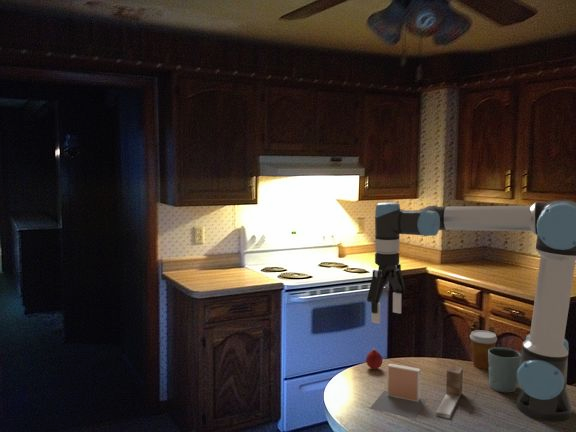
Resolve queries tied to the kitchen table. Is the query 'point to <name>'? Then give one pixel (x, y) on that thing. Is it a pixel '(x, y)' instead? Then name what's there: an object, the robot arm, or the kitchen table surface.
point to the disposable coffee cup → (482, 347)
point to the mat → (398, 405)
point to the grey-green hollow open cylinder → (503, 368)
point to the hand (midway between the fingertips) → (386, 317)
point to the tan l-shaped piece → (451, 392)
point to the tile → (403, 382)
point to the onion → (374, 359)
